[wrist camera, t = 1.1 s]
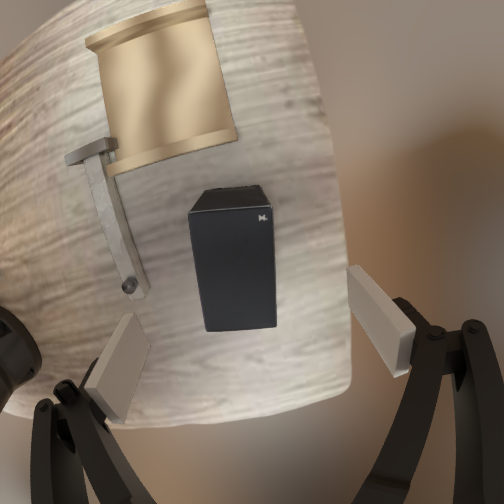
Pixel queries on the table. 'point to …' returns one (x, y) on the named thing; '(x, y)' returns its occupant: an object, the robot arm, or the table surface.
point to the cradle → (159, 88)
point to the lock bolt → (115, 226)
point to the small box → (235, 258)
